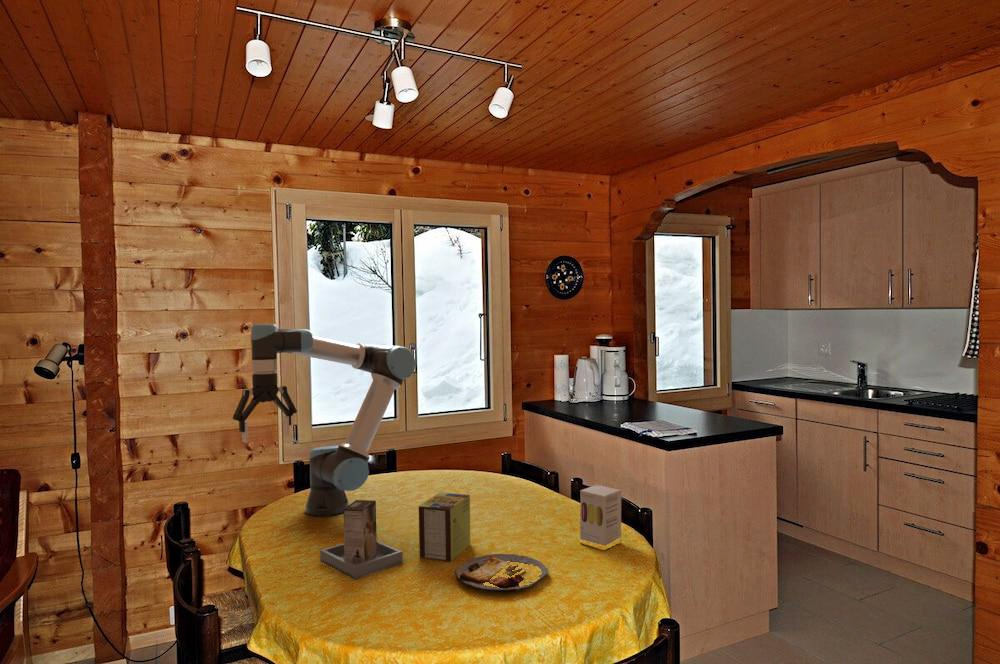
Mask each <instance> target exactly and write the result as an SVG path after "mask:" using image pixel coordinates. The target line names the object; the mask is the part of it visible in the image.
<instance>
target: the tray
mask: <svg viewBox="0 0 1000 664" xmlns="http://www.w3.org/2000/svg"><path fill="white" fill-rule="evenodd" d="M403 552H404V551H403V550H400V549H398V548H395V547H393V546H391V545H388V544H386V543H384V542H381V541H379V540H377V554H376V555H375V556H374V557H373V558H372V559H371V560H370V561H367V562H364V563H360V564H357V565H354V564H352V563H350V562H348V561H346V560H345V555H344V543H340V544H337V545H334V546H330V547H327V548H324V549H320V551H319V557H320V558H319V560H320V561H319V562H320V563H321V562H322V563H321V564H323V563H324V564H323V565H325V564H326V565H325V566H327V565H328V566H327V567H329V566H330V567H329V568H331V567H332V568H334V569H336V570H338V571H339V572H338V571H337V572H338V573H340V572H341V573H340V574H342V573H343V574H342V575H344V574H345V575H344V576H346V575H347V576H346V577H348V576H349V577H348V578H350V577H351V578H353V579H356V580H358V578H359V579H361V577H362V578H364V577H363V576H365V577H367V576H366V575H368V576H370V575H369V574H371V575H373V574H372V573H374V574H376V573H379V572H382V571H384V570H388V569H390V568H394V567H397V566H399V565H403V564H404V562H403V561H404V559H403V558H404V557H403V556H404V554H403ZM332 568H331V569H332ZM334 569H333V570H334ZM336 570H335V571H336ZM378 571H379V572H378ZM375 572H376V573H375ZM351 578H350V579H351ZM353 579H352V580H353Z"/></svg>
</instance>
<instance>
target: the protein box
mask: <svg viewBox="0 0 1000 664" xmlns="http://www.w3.org/2000/svg"><path fill="white" fill-rule="evenodd" d="M418 538H419V539H418V543H419V544H418V545H419V547H418V548H419V558H420V559H426V560H427V559H428V560H437V561H442V560H443V561H444V562H450V561H451V562H452V561H453V560H454V559H456V558H457V557H458V556H460V554H461V553H462V552H463V551H464V550H465V549H467V548H468V547H469V546H470V545H471V495H470V494H463V493H451V492H441V491H440V492H438V493H436V494H435V495H434V496H432V497H430V498H428V499H426V501H424V502H422V503H420V505H418ZM469 544H470V545H469ZM468 545H469V546H468ZM467 546H468V547H467ZM455 557H456V558H455Z"/></svg>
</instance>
